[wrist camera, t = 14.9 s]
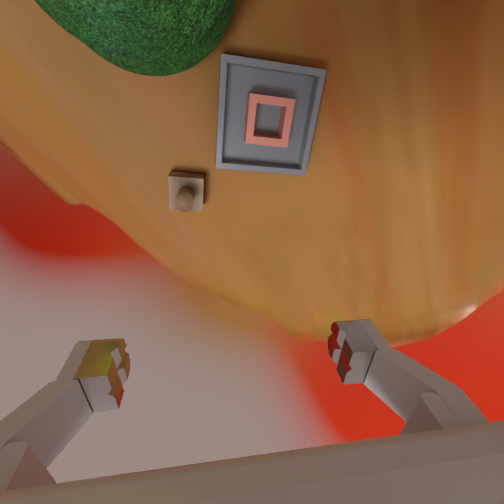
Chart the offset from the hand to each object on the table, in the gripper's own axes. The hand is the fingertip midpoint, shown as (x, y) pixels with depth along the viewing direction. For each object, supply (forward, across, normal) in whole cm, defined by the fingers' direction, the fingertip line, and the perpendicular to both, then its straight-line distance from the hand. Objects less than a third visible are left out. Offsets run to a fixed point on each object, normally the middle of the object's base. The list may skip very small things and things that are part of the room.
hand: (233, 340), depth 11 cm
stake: (+36, +5, +4) cm, 36 cm away
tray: (+36, -7, -6) cm, 37 cm away
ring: (+35, -7, -6) cm, 36 cm away
